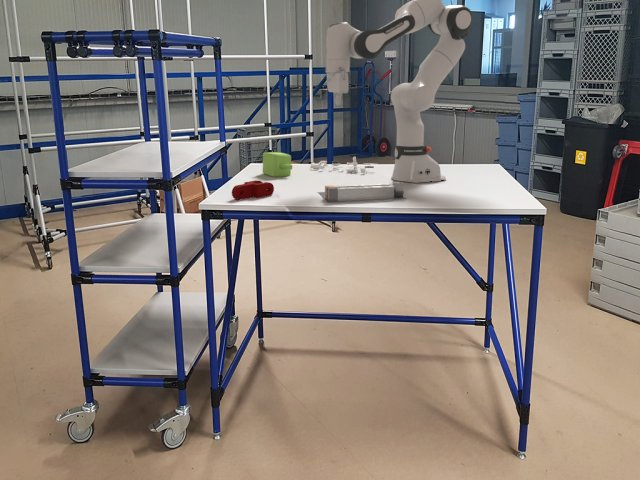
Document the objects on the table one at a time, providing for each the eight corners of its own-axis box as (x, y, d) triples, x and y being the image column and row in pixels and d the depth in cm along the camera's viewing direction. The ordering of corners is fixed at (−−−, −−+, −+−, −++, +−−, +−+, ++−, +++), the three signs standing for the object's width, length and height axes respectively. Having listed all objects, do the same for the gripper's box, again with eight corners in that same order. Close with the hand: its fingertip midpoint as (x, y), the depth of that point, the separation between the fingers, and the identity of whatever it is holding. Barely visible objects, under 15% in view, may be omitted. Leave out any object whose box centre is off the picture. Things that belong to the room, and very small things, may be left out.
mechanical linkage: (261, 192, 218) (260, 179, 217) (274, 195, 214) (273, 181, 212) (227, 199, 207) (227, 185, 206) (240, 202, 202) (240, 188, 201)
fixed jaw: (401, 195, 207) (401, 181, 206) (406, 198, 202) (406, 184, 201) (325, 198, 202) (325, 184, 200) (329, 202, 197) (329, 187, 195)
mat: (390, 191, 218) (390, 189, 218) (406, 201, 202) (407, 198, 201) (317, 194, 213) (317, 192, 213) (328, 205, 196) (328, 202, 196)
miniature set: (381, 169, 265) (371, 178, 255) (312, 169, 280) (301, 176, 270) (380, 156, 262) (370, 163, 252) (311, 156, 278) (299, 163, 268)
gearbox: (299, 178, 251) (300, 156, 249) (279, 179, 246) (279, 156, 243) (279, 171, 266) (279, 150, 263) (259, 172, 260) (260, 151, 258)
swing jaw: (388, 194, 207) (388, 183, 206) (390, 196, 205) (390, 184, 204) (324, 197, 203) (325, 185, 201) (326, 199, 200) (326, 187, 199)
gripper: (353, 67, 212) (352, 106, 215) (339, 67, 231) (339, 103, 235) (336, 67, 210) (335, 106, 214) (324, 67, 230) (324, 103, 233)
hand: (337, 104), depth 225 cm, fingers closed
